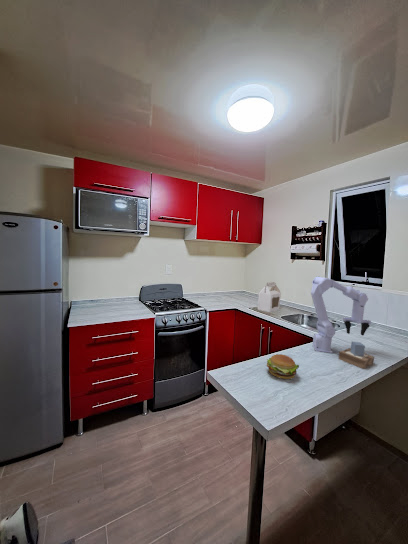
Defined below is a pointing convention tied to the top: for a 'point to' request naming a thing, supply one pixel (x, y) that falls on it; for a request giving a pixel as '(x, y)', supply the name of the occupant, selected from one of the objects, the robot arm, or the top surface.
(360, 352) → the block
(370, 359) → the walnut base
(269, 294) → the gable box
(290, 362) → the food
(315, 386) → the top surface
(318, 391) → the top surface
